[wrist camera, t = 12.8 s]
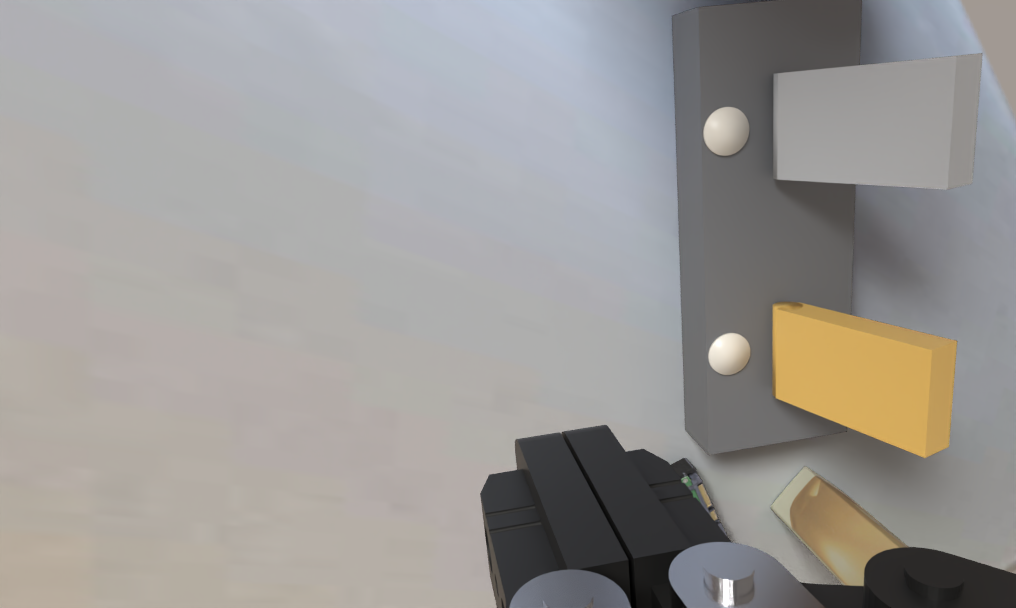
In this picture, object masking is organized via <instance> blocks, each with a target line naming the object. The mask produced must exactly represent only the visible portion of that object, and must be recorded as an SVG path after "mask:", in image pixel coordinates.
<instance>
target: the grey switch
mask: <svg viewBox="0 0 1016 608" xmlns="http://www.w3.org/2000/svg"><path fill="white" fill-rule="evenodd" d="M981 65H982V53H980V54H970V55H959V56H949V57H939V58H929V59H918V60H908V61H898V62H888V63H877V64H867V65H857V66H847V67H836V68H826V69H816V70H806V71H796V72H785V73H776V74H774V77H773V179H777V180H794V181H811V182H828V183H845V184H862V185H879V186H896V187H913V188H930V189H947V190H948V189H952V188H956V187H960V186H964V185H969V184H972V180H973V167H974V154H975V141H976V129H977V116H978V103H979V91H980V78H981Z"/></svg>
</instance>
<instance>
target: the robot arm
mask: <svg viewBox="0 0 1016 608" xmlns="http://www.w3.org/2000/svg"><path fill="white" fill-rule="evenodd" d="M515 453H516V463H517V470H515V471H509V472H503V473H497V474H491V475H489V477H488V479H487V481H486V483H485V485H484V487H483V489H482V491H481V493H480V495H481V503H482V512H483V520H484V528H485V537H486V545H487V553H488V561H489V570H490V578H491V582H492V587H493V591H494V596H495V600H496V605H497V608H1016V574H1014V573H1011V572H1007V571H1004V570H1001V569H998V568H994V567H991V566H988V565H985V564H981V563H978V562H975V561H972V560H968V559H965V558H962V557H959V556H955V555H952V554H949V553H945V552H941V551H937V550H932V549H926V548H916V547H902V548H893V549H889V550H885V551H882V552H880V553H877V554H876V555H874V556H873V557H871V558H870V560H869V561H868V562H867V564H866V566H865V569H864V586H850V585H824V584H808V583H801V582H799V581H798V580H797V579H796V578H795V577H794V576H793V575H792V574H791V573H790V572H789V571H788V570H787V569H786V568H785V567H784V566H783V565H782V564H781V563H779V562H778V561H777V560H776V559H775V558H773V557H772V556H770V555H769V554H767V553H765V552H763V551H761V550H759V549H756V548H753V547H750V546H747V545H743V544H738V543H732V542H731V541H730V540H729V539H728V537H727V536H726V535H725V533H724V532H723V531H722V530H721V528H720V527H719V526H718V525H717V523H716V522H715V521H714V520H713V518H712V517H711V516H710V515H709V513H708V512H707V511H706V510H705V508H704V507H703V506H702V505H701V503H700V502H699V501H698V499H697V498H696V497H695V498H694V497H693V493H692V492H691V491H690V489H689V488H688V487H687V486H686V484H685V483H682V481H681V478H680V477H679V476H678V474H677V473H676V472H675V471H674V469H673V468H672V467H671V466H670V464H669V463H668V462H667V461H665V460H663V459H661V458H660V457H658V456H656V455H654V454H652V453H650V452H648V451H646V450H644V449H640V450H634V451H628V452H625V450H624V449H623V447H622V446H621V445H620V443H619V442H618V440H617V439H616V437H615V436H614V434H613V433H612V432H611V430H610V429H609V427H608V426H607V425H601V426H595V427H589V428H583V429H577V430H570V431H564V432H562V433H553V434H546V435H540V436H534V437H528V438H522V439H516V440H515Z"/></svg>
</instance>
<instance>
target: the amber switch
mask: <svg viewBox="0 0 1016 608" xmlns="http://www.w3.org/2000/svg"><path fill="white" fill-rule="evenodd" d="M956 348H957V341H955V340H951V339H947V338H943V337H938V336H934V335H930V334H926V333H922V332H918V331H914V330H910V329H906V328H902V327H898V326H894V325H890V324H885V323H881V322H877V321H873V320H869V319H865V318H861V317H857V316H853V315H849V314H845V313H841V312H837V311H832V310H828V309H824V308H820V307H816V306H812V305H808V304H804V303H800V302H799V303H797V302H778V303H775V304H773V329H772V395H773V396H774V397H776V398H777V399H779V400H782V401H784V402H787V403H789V404H792V405H794V406H796V407H799V408H801V409H804V410H806V411H809V412H811V413H814V414H816V415H819V416H821V417H824V418H826V419H829V420H831V421H834V422H836V423H839V424H841V425H844V426H846V427H849V428H851V429H854V430H856V431H859V432H861V433H864V434H866V435H869V436H871V437H874V438H876V439H879V440H881V441H884V442H886V443H889V444H891V445H894V446H896V447H899V448H901V449H904V450H906V451H909V452H911V453H914V454H916V455H919V456H921V457H924V458H926V457H928V456H930V455H932V454H935V453H937V452H939V451H941V450H943V449H945V448H948V447H949V438H950V425H951V412H952V399H953V387H954V374H955V361H956Z"/></svg>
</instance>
